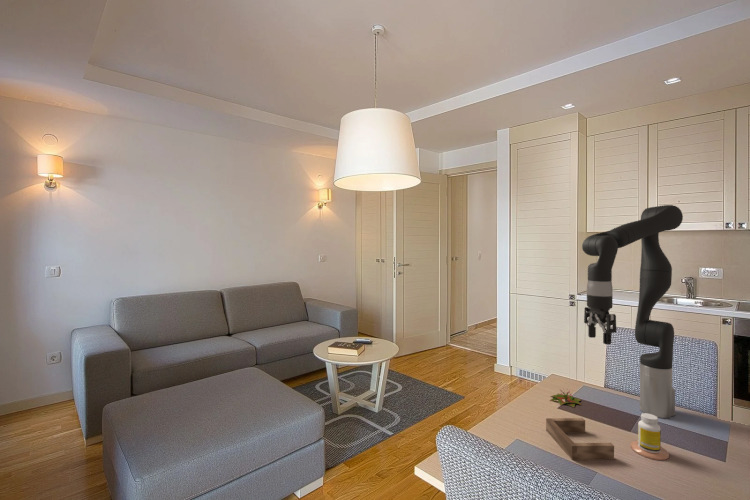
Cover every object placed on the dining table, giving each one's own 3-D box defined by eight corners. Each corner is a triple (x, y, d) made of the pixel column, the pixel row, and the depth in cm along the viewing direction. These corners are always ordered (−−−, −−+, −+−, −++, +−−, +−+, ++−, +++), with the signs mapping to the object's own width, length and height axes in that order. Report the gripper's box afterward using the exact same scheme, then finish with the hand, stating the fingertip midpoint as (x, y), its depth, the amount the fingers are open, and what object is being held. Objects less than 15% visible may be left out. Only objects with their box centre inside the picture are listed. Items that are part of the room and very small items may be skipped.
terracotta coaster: (653, 442, 112) (653, 440, 112) (677, 460, 103) (677, 458, 103) (623, 442, 112) (623, 440, 112) (645, 460, 103) (645, 458, 103)
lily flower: (577, 412, 133) (577, 399, 133) (543, 401, 142) (543, 390, 142) (587, 401, 141) (587, 390, 141) (555, 392, 150) (555, 381, 150)
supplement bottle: (664, 455, 104) (665, 421, 104) (643, 452, 105) (643, 419, 105) (654, 444, 110) (654, 412, 109) (634, 442, 111) (634, 411, 110)
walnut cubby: (582, 430, 120) (582, 418, 119) (614, 459, 104) (614, 445, 103) (546, 430, 120) (546, 418, 120) (571, 459, 104) (571, 445, 104)
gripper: (624, 296, 117) (624, 346, 118) (597, 290, 131) (597, 335, 132) (601, 297, 117) (601, 346, 118) (577, 291, 131) (577, 335, 132)
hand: (599, 340), depth 125 cm, fingers open, 8 cm apart
